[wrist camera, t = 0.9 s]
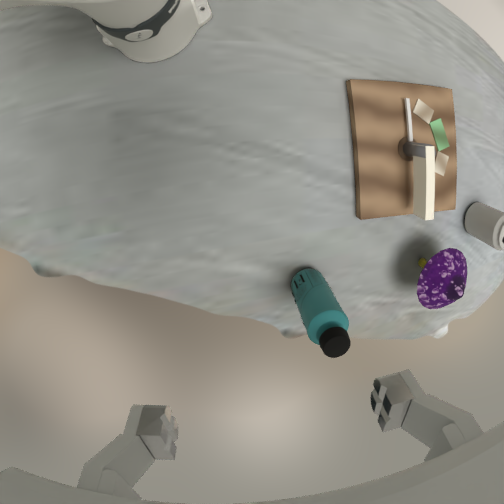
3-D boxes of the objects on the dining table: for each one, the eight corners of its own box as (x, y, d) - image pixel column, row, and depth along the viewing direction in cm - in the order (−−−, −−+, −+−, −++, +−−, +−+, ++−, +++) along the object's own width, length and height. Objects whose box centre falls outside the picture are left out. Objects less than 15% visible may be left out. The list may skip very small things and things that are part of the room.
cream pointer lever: (398, 98, 42) (419, 95, 36) (410, 99, 42) (432, 96, 36) (403, 209, 50) (423, 220, 43) (415, 208, 50) (435, 219, 43)
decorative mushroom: (451, 251, 56) (494, 280, 42) (419, 296, 60) (455, 334, 46) (419, 220, 53) (466, 248, 39) (384, 271, 57) (421, 311, 43)
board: (346, 81, 43) (350, 79, 41) (445, 89, 43) (452, 89, 41) (356, 216, 52) (361, 220, 50) (449, 206, 52) (456, 209, 50)
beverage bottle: (296, 259, 54) (326, 323, 36) (328, 269, 56) (368, 332, 37) (283, 290, 57) (304, 362, 38) (314, 298, 58) (346, 368, 39)
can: (460, 234, 55) (495, 255, 44) (464, 201, 52) (501, 217, 41) (481, 232, 55) (515, 251, 44) (485, 200, 52) (521, 216, 41)
